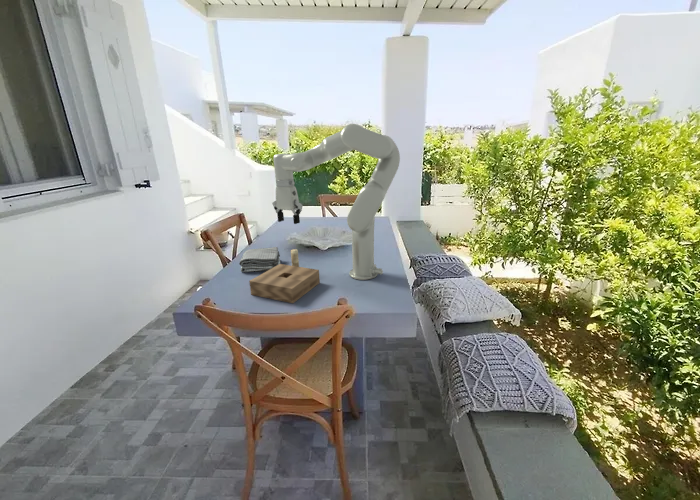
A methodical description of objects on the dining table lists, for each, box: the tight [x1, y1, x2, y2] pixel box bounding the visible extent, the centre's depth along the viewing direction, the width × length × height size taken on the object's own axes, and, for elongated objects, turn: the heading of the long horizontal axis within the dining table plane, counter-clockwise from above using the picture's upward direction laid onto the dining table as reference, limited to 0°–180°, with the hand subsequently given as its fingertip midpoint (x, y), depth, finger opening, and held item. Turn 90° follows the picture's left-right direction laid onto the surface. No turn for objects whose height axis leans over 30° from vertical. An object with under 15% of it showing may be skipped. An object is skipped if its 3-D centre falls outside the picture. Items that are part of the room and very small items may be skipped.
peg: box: [290, 248, 300, 267], centre depth 148 cm, size 3×3×11 cm
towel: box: [239, 246, 281, 273], centre depth 158 cm, size 15×18×8 cm
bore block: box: [248, 263, 321, 304], centre depth 132 cm, size 20×20×6 cm
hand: (288, 222), depth 145 cm, fingers open, 9 cm apart
